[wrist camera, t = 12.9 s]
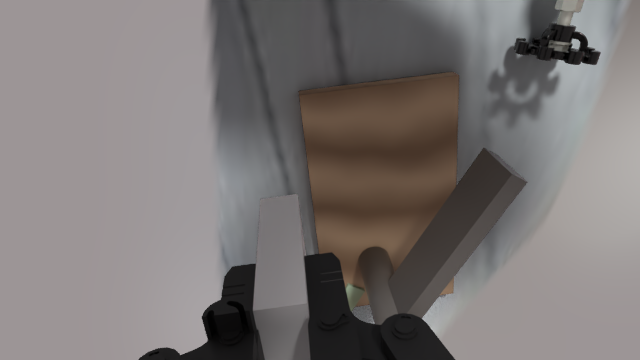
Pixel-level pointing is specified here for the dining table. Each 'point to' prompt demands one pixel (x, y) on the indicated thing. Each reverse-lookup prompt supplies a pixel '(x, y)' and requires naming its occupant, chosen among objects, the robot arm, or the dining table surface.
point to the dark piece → (441, 241)
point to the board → (379, 166)
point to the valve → (560, 39)
